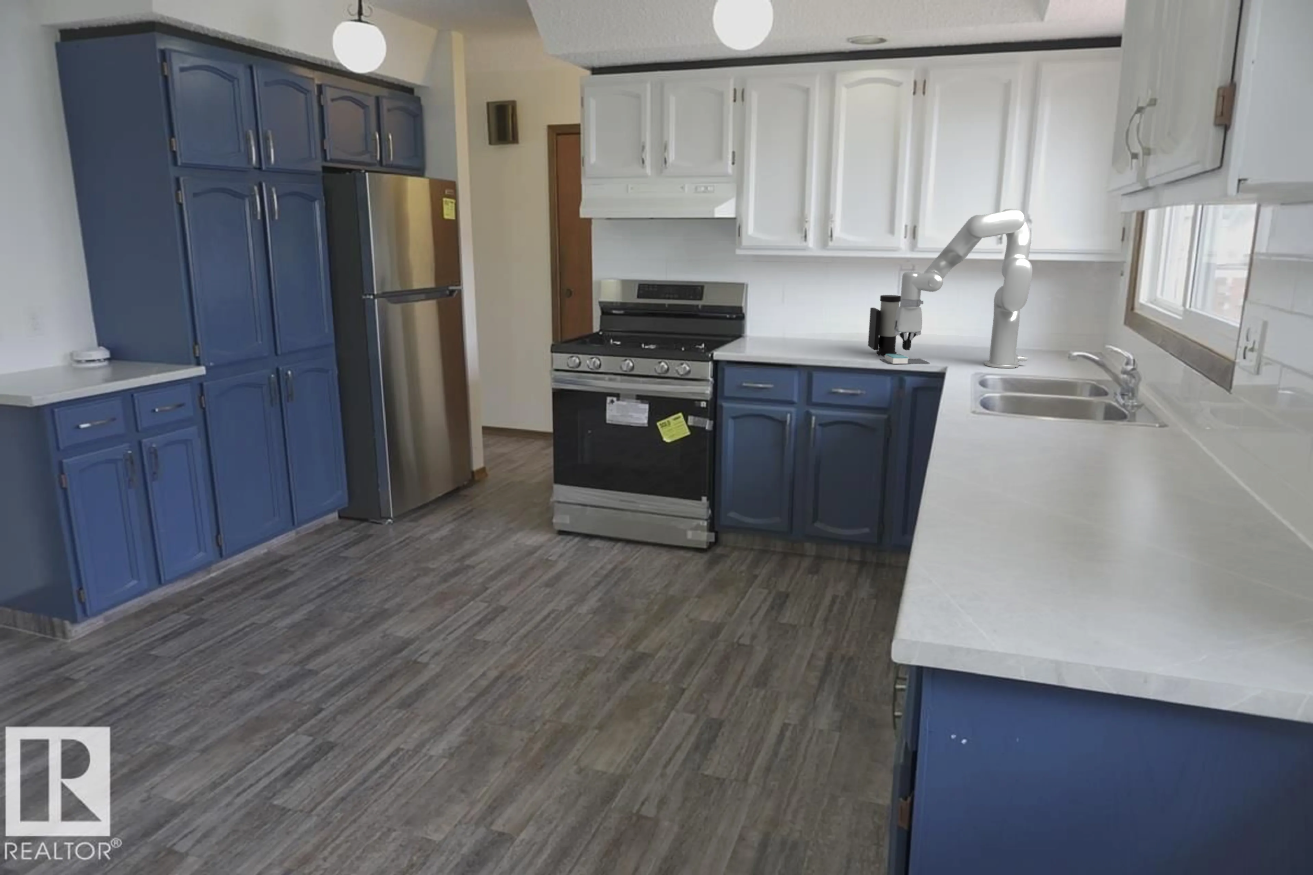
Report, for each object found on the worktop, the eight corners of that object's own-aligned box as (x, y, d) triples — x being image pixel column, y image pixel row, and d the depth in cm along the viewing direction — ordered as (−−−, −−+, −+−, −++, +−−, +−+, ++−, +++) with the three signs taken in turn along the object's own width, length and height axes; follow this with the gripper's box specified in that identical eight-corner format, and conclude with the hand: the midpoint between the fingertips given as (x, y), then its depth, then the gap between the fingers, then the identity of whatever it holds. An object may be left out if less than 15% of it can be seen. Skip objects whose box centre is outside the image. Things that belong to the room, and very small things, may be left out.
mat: (919, 359, 358) (920, 358, 358) (929, 363, 349) (929, 362, 349) (879, 359, 357) (879, 359, 357) (888, 364, 347) (888, 363, 347)
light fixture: (899, 356, 365) (904, 297, 359) (873, 356, 365) (877, 297, 359) (892, 352, 377) (897, 294, 370) (867, 352, 377) (871, 294, 371)
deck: (899, 353, 354) (885, 353, 354) (908, 357, 346) (893, 357, 345) (899, 359, 355) (885, 359, 354) (907, 363, 346) (892, 363, 346)
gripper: (924, 302, 349) (920, 348, 354) (888, 302, 348) (885, 348, 352) (932, 304, 342) (928, 351, 347) (895, 304, 341) (891, 351, 345)
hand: (906, 349), depth 350 cm, fingers closed
